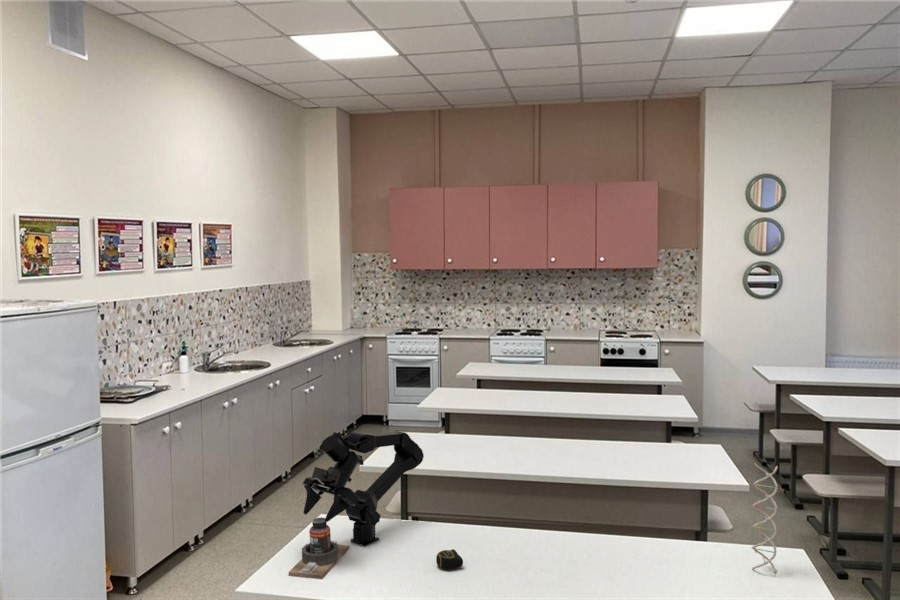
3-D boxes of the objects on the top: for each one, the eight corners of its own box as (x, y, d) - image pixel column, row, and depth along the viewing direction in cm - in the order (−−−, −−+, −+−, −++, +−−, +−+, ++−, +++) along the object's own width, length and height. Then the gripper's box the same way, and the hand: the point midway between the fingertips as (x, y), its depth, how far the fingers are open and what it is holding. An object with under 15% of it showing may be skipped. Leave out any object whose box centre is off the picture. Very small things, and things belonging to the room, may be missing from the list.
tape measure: (463, 570, 197) (463, 557, 197) (440, 573, 195) (440, 560, 195) (456, 559, 203) (456, 547, 203) (433, 563, 201) (433, 550, 201)
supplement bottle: (329, 552, 207) (328, 514, 206) (332, 560, 201) (331, 522, 200) (309, 555, 205) (308, 517, 204) (311, 563, 200) (310, 525, 199)
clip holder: (318, 545, 214) (318, 533, 214) (349, 548, 212) (349, 535, 211) (288, 575, 195) (288, 561, 194) (322, 578, 192) (321, 564, 192)
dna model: (777, 569, 194) (779, 462, 192) (776, 578, 189) (778, 469, 187) (751, 564, 198) (753, 459, 196) (749, 573, 192) (751, 465, 190)
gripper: (306, 450, 210) (277, 496, 202) (350, 461, 198) (321, 511, 191) (327, 469, 217) (300, 515, 209) (370, 481, 205) (343, 530, 197)
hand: (315, 517), depth 201 cm, fingers open, 9 cm apart
